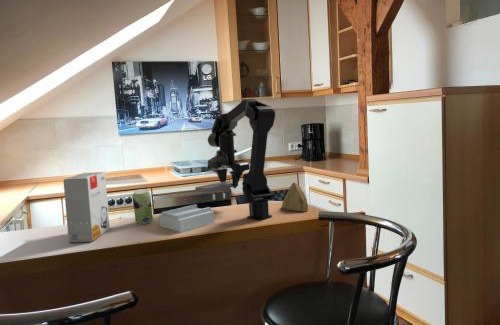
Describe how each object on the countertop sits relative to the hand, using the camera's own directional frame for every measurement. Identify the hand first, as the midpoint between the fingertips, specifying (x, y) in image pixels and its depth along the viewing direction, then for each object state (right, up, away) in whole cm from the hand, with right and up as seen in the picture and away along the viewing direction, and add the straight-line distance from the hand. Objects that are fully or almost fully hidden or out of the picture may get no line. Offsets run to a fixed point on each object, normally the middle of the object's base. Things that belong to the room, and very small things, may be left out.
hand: (229, 187), depth 163 cm
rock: (+25, -8, -7) cm, 27 cm away
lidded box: (-13, -12, -20) cm, 27 cm away
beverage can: (-29, -12, -15) cm, 35 cm away
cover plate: (-4, 0, -4) cm, 6 cm away
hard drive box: (-44, -14, -28) cm, 54 cm away
